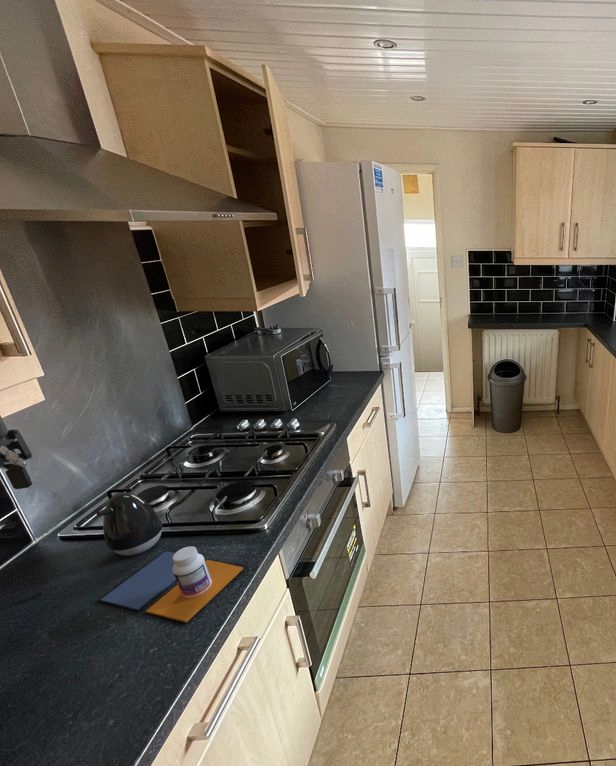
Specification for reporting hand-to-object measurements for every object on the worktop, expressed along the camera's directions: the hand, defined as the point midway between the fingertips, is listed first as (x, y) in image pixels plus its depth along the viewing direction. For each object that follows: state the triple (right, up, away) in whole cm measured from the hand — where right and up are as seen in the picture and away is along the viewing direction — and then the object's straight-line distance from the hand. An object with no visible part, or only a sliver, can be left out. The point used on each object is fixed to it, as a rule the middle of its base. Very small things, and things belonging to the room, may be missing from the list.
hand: (6, 502), depth 70 cm
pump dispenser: (-5, -20, +31) cm, 38 cm away
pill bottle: (+18, -24, +20) cm, 36 cm away
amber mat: (+17, -25, +20) cm, 36 cm away
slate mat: (+6, -24, +22) cm, 33 cm away
